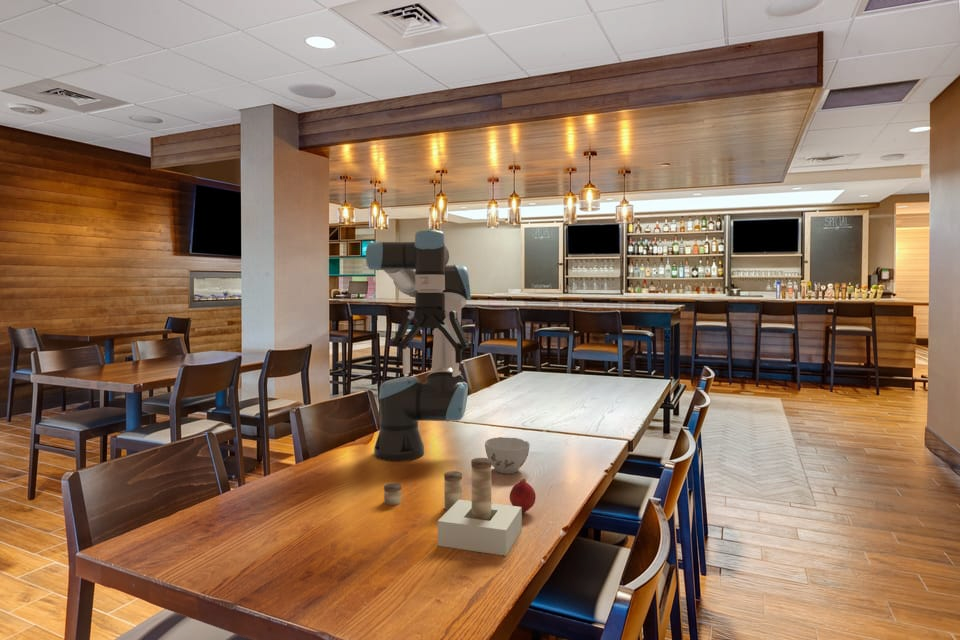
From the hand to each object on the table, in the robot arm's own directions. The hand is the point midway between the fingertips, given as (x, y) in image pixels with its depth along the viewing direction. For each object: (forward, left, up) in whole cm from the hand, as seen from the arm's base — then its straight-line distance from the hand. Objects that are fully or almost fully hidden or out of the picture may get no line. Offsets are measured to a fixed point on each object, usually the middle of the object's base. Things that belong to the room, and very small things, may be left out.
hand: (430, 374), depth 145 cm
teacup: (+16, +18, -29) cm, 38 cm away
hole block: (+22, -26, -29) cm, 44 cm away
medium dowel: (+11, -13, -29) cm, 33 cm away
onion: (+27, -11, -29) cm, 41 cm away
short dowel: (-4, -14, -29) cm, 32 cm away
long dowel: (+22, -26, -29) cm, 45 cm away
